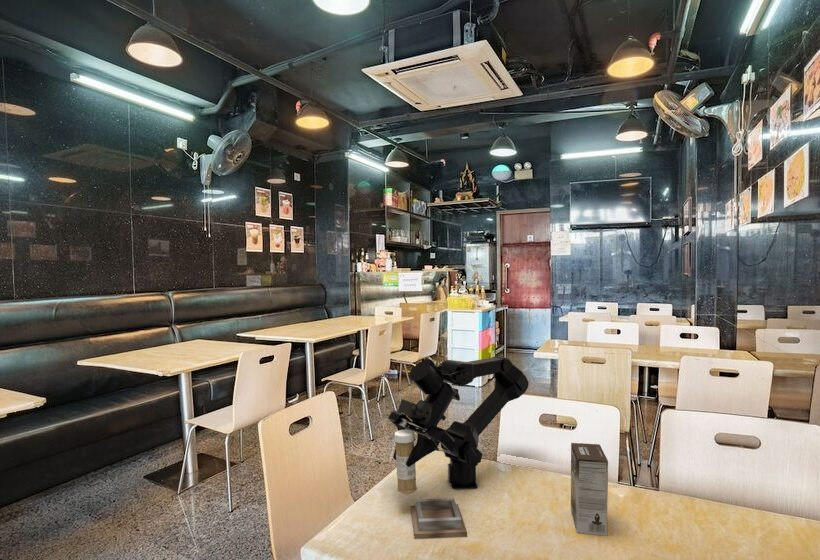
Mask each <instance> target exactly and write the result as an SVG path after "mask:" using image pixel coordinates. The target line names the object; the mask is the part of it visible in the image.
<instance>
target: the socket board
mask: <svg viewBox="0 0 820 560" xmlns="http://www.w3.org/2000/svg"><path fill="white" fill-rule="evenodd" d="M414 501H415V502H414V505H410V515H411V523H412V529H413V530H412V531H413V538H414V539H415V540H419V539H420V540H421V539H422V540H424V539H437V538H438V539H441V538H443V539H444V538H445V539H446V538H463V537H464V538H466V537H468V530H467V527H466V525H465V522H464V518H463V515H462V513H461V510H460V507H459V504H458V503H456V500H455V498H454V497H447V498H446V497H445V498H443V497H442V498H441V497H439V498H419V499H415V500H414Z"/></svg>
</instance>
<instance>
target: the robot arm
mask: <svg viewBox="0 0 820 560" xmlns="http://www.w3.org/2000/svg"><path fill="white" fill-rule="evenodd" d="M408 375H409V376H408V377H409V379H410V381H412V382H413V384H414V385H415V386H416V387H417V388H418V389H419V390H420V391H421V392H422V393H423V394H424V395H426V398H424V400H422V399H420V400H418V401H417V403H415V402H412V401H409V400H406V399H403V398H402V399H401V400H400V403H399V405H398V406H399V407H398V409H397V410H394V411H391V413H390V414H389V415H388V417H387V420H388V421H390V422H391V423H392V425H394V426H395V428H396V429H397V431H399V430H412V431H413V432H414V433H417V435H416V436H417V437H416V438H417V439H416V438H415V437H414V442H415V441H416V443H415V444H414V449H413V450H412V452H411V454H410V456H409V458H408V460H407V462H406V465H407V466H408V467H410V466H411V465H413V464H414V463H415V464H416V463H417V462H419V461H420V460H422V459H423V458H424V457H426V456H428V455H430V454H431V453H434V452H438V451H439V450H440V448H439V445H440V447H441V449H442V450H443V453H444V457H445V458H449V463H447V480H448V483H449V484H450V485H451V488H452V489H453V490H461V489H465V490H466V489H477V488H478V484H477V478H476V477H477V476H476V475H477V470H476V469H477V466H478V465H479V464H480V463H481V462H482V459H483V453H482V452H481V450H479V448H478V446H479V437H480V435H481V434H482V433H483V432H484V430H485V429H487V427H488V426H489V424H490V423H491V422H492V421H493V420H494V419H495V418H496V417H497V415H498V414H499V413H500V412H501V411H502V409H504V408H505V406H506V404H507V403H509V402H510V401H514V400H517V399H519V398H520V397H522V396H523V395H524V394H525V393H526V392H527V391H528V388H529V385H530V384H529V380H528V378H527V376H526V375H525V374H524V372H523V371H522V370H521V369H520V368H518V367H517V366H516V365H514V363H512V360H510V359H509V358H507V357H502V356H498V355H495V356H492V357H487V358H482V359H477V360H472V361H462V360H455V359H454V360H453V359H446V360H443V361H442V362H441V364H440V365H436V364H435V362H434V360H433V359H432V358H425V359H424V360H423V361H421V362H418V363H417V364H416V365H414V366H413V367H412V368H411V369H410V371H409V374H408ZM488 375H489V376H490V375H492V377H493V379H494V380H495V381H494V389H493V391H491V392H490V394H489V395H488V396H487V397H486V398H485V399H484V400H483V401H482V402H481V404H480V405H478V407H477V408H476V409H475V410H474V411H473V413H471V414H470V416H469V417H468V418H467V419H466V420H465V421H464V422H460V421H457V420H454V421H453V422H452V423H451V424H450V426H449V427H448V428H446V429H444V428H441V427H439V426H438V425H439V423H440V421H446V418H447V417H446V416H445V413H446V411H447V409H448V407H449V406H450V405H451V403H452V401H453V400H456V401H460V400H461V398H460V393H459V389H457V388H454V387H453V386H452V385H455V386H458V387H464V386H468V385H469V384H470V383H472V382H473V381H474V379H476V378H480V377H481V378H482V377H484V376H488ZM393 453H394V454H393V455H392V456H393V457H392V458H393V459H394V460H395V461H396V447H395V448H394V452H393Z"/></svg>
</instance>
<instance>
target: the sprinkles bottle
mask: <svg viewBox="0 0 820 560" xmlns="http://www.w3.org/2000/svg"><path fill="white" fill-rule="evenodd" d="M414 438H415V432H414V431H412V430H399V431H398V430H397V431H395V432H394V443H395V448H396V460H395V462H396V477H397V478H396V479H397V480H396V481H397V492H398V493H400V494H404V495H410V494H414V493H415V492H416V491H417V490H418V488H417V481H416V480H417V478H416V476H417V471H416V468H417V467H416V463H414V464H413V465H411V466H410V467H408V466H407V465H406V462H407V460H408V458H409V456H410V454H411V452H412V450H413V449H414V447H415V441H414Z"/></svg>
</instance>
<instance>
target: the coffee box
mask: <svg viewBox="0 0 820 560" xmlns="http://www.w3.org/2000/svg"><path fill="white" fill-rule="evenodd" d="M570 447H571V448H570V512H571V516H572V519H573V523H574V527H575V530H576V533H577V534H585V535H594V536H603V537H608V495H609V494H608V492H609V488H608V487H609V485H608V484H609V460H608V458H607V456H606V454H605V452H604V450H603V448H602V446H601V444H597V443H583V442H582V443H580V442H571V445H570Z"/></svg>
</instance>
